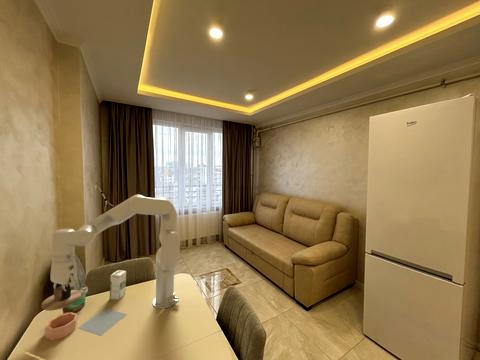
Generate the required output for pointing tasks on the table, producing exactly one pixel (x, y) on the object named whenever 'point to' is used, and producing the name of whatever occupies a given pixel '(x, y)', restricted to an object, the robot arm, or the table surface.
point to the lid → (60, 299)
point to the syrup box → (117, 284)
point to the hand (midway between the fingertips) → (62, 296)
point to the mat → (102, 321)
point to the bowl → (61, 326)
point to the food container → (77, 302)
